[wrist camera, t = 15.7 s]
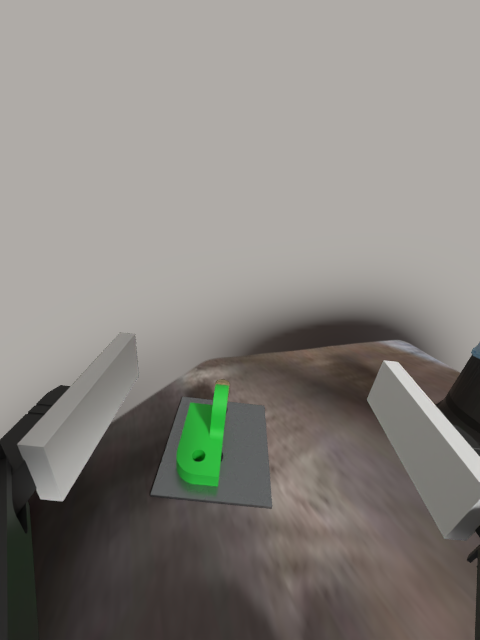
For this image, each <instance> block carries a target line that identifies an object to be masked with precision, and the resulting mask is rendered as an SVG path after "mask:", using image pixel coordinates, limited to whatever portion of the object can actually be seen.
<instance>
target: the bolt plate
mask: <svg viewBox="0 0 480 640" xmlns="http://www.w3.org/2000/svg"><path fill="white" fill-rule="evenodd" d="M216 384H221V385H229V387H230V383H229V382H228V381H227V380H224V379H220V380H217V381H216V383H215V386H216ZM228 395H229V390H228ZM190 403H199V404H209V405H213V400H208V399H199V398H190V397H182V400H181V403H180V406H179V409H178V412H177V415H176V418H175V421H174V424H173V427H172V430H171V433H170V436H169V439H168V442H167V446H166V449H165V452H164V455H163V458H162V461H161V464H160V467H159V470H158V473H157V476H156V479H155V482H154V485H153V488H152V491H151V494H150V495H151V497H160V498H170V499H180V500H190V501H200V502H210V503H219V504H229V505H239V506H249V507H259V508H269V509H272V499H271V486H270V473H269V460H268V447H267V434H266V421H265V408H264V406H262V405H253V404H244V403H235V402H228V399H227V408H226V417H225V425H224V433H223V443H222V453H221V462H220V472H219V481H218V487H217V486H207V485H197V484H191V483H188V482H186V481H184V480H183V479H182V478H181V477H180V476H179V474H178V472H177V467H176V455H177V449H178V446H179V442H180V439H181V435H182V431H183V428H184V424H185V421H186V417H187V413H188V410H189V406H190ZM194 461H196V462H201V461H202V460H201V459H196V460H194Z"/></svg>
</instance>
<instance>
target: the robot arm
mask: <svg viewBox="0 0 480 640" xmlns="http://www.w3.org/2000/svg"><path fill="white" fill-rule="evenodd" d="M471 353H472V356H471V357H470V359H469V360H468V362H467V364H466V365H465V367H464V369H463V370H462V372H461V373H460V375H459V376H458V378H457V380H456V381H455V383H454V384H453V386H452V387H451V389H450V391H449V392H448V394H447V396H446V397H445V399H443V400H442V401H440V402H439V403H438V404H436V405H435V404H434V403H433V402H432V401H431V400H430V399H429V397H428V396H427V395H426V394H425V393H424V392H423V391H422V389H421V388H420V387H419V386H418V385H417V384H416V382H415V381H414V380H413V379H412V378H411V377H410V376H409V374H408V373H407V372H406V371H405V370H404V369H403V367H402V366H401V365H400V364H399V363H398V362H393V361H384V360H383V363H382V365H381V367H380V370H379V372H378V374H377V377H376V379H375V381H374V384H373V386H372V388H371V391H370V393H369V395H368V398H367V401H368V403H369V405H370V406H371V408H372V410H373V412H374V414H375V415H376V417H377V419H378V421H379V423H380V424H381V426H382V428H383V430H384V431H385V433H386V435H387V437H388V439H389V440H390V442H391V444H392V446H393V448H394V449H395V451H396V453H397V455H398V457H399V458H400V460H401V462H402V464H403V465H404V467H405V469H406V471H407V473H408V474H409V476H410V478H411V480H412V482H413V483H414V485H415V487H416V489H417V491H418V492H419V494H420V496H421V498H422V499H423V501H424V503H425V505H426V507H427V508H428V510H429V512H430V514H431V516H432V517H433V519H434V521H435V523H436V524H437V526H438V528H439V530H440V532H441V533H442V535H443V537H444V539H454V540H464V541H466V540H467V539H468V538H469V537H470V536H471V535H472V534H473V533H474V532H475V531H476V532H477V534H478V535H479V537H480V342H479V344H478V345H477V346H476V347H475V348H473V350H472V352H471ZM138 376H139V372H138V361H137V351H136V339H135V334H130V333H120V334H118V336H117V337H116V338H115V339H114V340H113V341H112V342H111V344H109V345H108V346H107V347H106V349H105V350H104V351H103V352H102V353H101V354H100V355H99V356H98V357H97V358H96V359H95V361H94V362H93V363H92V364H91V365H90V366H89V367H88V368H87V369H86V370H85V372H83V374H82V375H81V376H80V377H79V378H78V379H77V380H76V381H75V382H74V383H73V384H72V385H71V386H63V385H60V386H59V387H57V388H55V389H53V390H52V391H50V392H48V393H47V394H46V395H45V396H44V397H43V398H42V399H41V400H40V401H39V402H38V403H37V405H36V406H34V407H33V408H32V409H31V410H30V411H29V412H28V414H26V415H25V416H24V417H23V418H22V419H21V420H20V421H19V422H18V423H17V424H16V425H15V426H14V427H13V428H12V429H11V430H10V431H9V432H8V433H6V435H4V436H3V438H1V439H0V640H39V632H38V618H37V604H36V590H35V576H34V562H33V548H32V534H31V520H30V506H29V503H28V500H29V498H30V497H31V495H32V494H33V493H34V491H35V490H37V493H38V495H39V497H40V499H43V500H53V501H64V499H65V497H66V496H67V494H68V492H69V491H70V489H71V487H72V486H73V484H74V482H75V481H76V479H77V478H78V476H79V474H80V473H81V471H82V469H83V468H84V466H85V464H86V463H87V461H88V459H89V458H90V456H91V454H92V453H93V451H94V449H95V448H96V446H97V444H98V443H99V441H100V439H101V438H102V436H103V435H104V433H105V431H106V430H107V428H108V426H109V425H110V423H111V421H112V420H113V418H114V416H115V415H116V413H117V411H118V410H119V408H120V406H121V405H122V403H123V401H124V400H125V398H126V396H127V395H128V393H129V391H130V390H131V388H132V386H133V385H134V383H135V382H136V380H137V378H138ZM476 558H478V565H477V594H476V622H475V640H480V545H479V546H478V547H477V548H476V549H475V550H474V551H472V552H471V553H470V554H469V556H468V558H467V561H469V562H470V563H471V562H472V561H473V560H474V559H476Z"/></svg>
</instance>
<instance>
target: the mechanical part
mask: <svg viewBox="0 0 480 640" xmlns="http://www.w3.org/2000/svg"><path fill="white" fill-rule="evenodd" d="M228 390H229V385H221V384H216V386H215V392H214V399H213V405H209V404H199V403H190V406H189V410H188V413H187V417H186V421H185V424H184V428H183V431H182V435H181V439H180V442H179V446H178V449H177V455H176V467H177V472H178V474H179V476H180V477H181V478H182V479H183V480H184V481H186V482H188V483H191V484H197V485H207V486H217V487H218V481H219V472H220V462H221V453H222V443H223V433H224V425H225V417H226V408H227V399H228ZM196 459H201V460H202V461H201V462H196V461H194V460H196Z"/></svg>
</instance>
